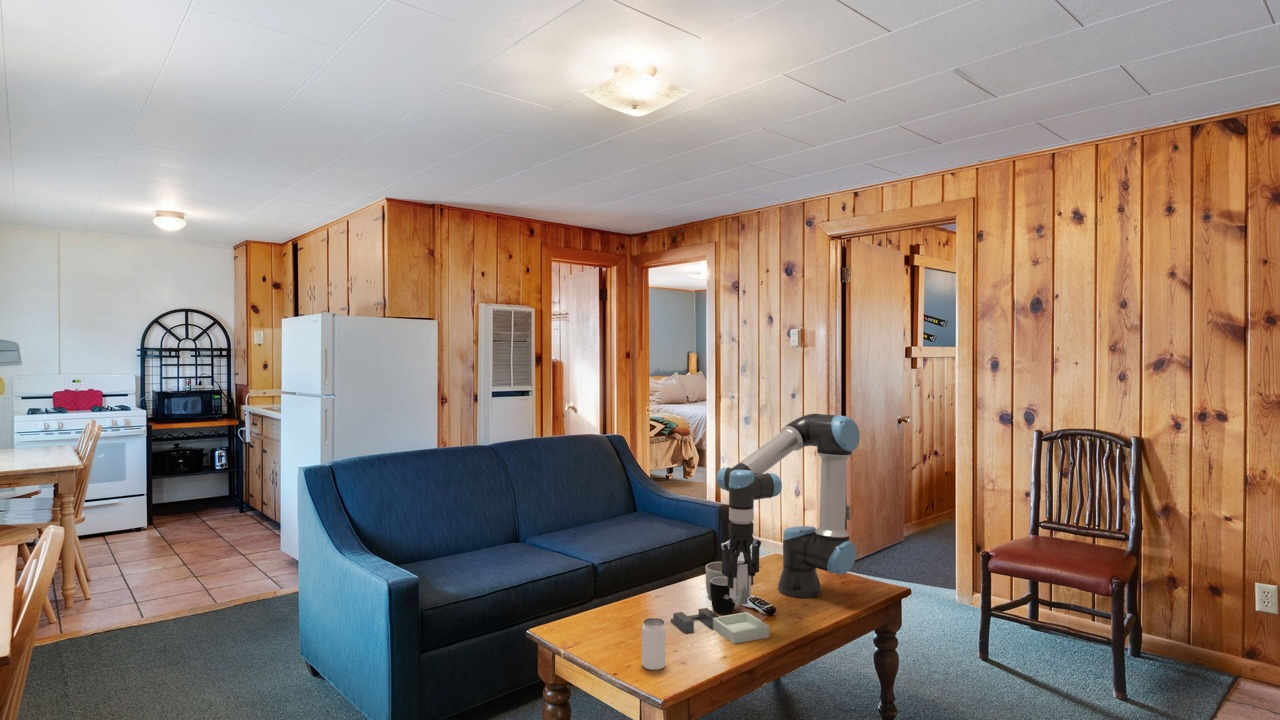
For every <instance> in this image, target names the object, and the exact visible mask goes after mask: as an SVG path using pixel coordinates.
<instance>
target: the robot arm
mask: <svg viewBox="0 0 1280 720" xmlns="http://www.w3.org/2000/svg"><path fill="white" fill-rule="evenodd" d="M860 437H861V436H860V430H859V426H858V424H857V423H856V422H855V420H854V419H853V418H851V417H848V416H845V415H840V414H826V413H825V414H821V413H809V414H805V415H802V416H800V417H798V418H796V419H794V420H791V422H789V423H787V424H786V425H785V426H783V427H782V428H781V430H780V432H779V433H778V434H777V435H776V436H775V437H773V438H772V439H770V440H769V441H768V442H765V444H763V445H762V446H760V447H759V448H757V449H756V450H755V451H754V452H752V453H751V454H750V455H748V456H747V457H745V458H744V459H742V460H741V461H740V462H738V463H737V464H735V465H734V466H732V467H729V466H728V467H722V468H720V469H719V470H718V472H717V474H716V478H715V479H716V484H717V486H718V487H719V488H720V489H721V490H723V491H727V492H728V520H729V522H728V535H729V536H728V538H727V541H725V542H720V544H719V545H720V548H721V562H722V574H723V575H725V576H726V577H728V587H729V588H730V598H732V599H734V600H736V581H737V578H735V577H734V575H735V571H736V566H737V561H739V556H741V553H742V555H743V559H744V560H743V561H745V562H747V563H748V599H749V598H752V586H753V585H754V577H755V576H756V573H759V572H760V547H761V545H762V540H760V539H757V538H754V536H753V534H754V522H753V521H754V513H755V512H754V507H755V505H754V504H755V503H754V502H755V501H757V500H762V499H763V500H764V499H772V498H774V497H777V496H779V495H780V493H781V492H782V491H783V484H782V480H781V478H780V477H779V476H778V475H777V474H776V473H774V472H773V473H769V472H767V471H768V470H769V469H771V468H772V467H774V466H775V465H776V464H777V463H779V462H781V460H782V459H785V457H788V455H789V454H791V453H793V452H794V451H800V450H801V449H802V448H805V447H809V446H810V447H816V449H817V451H816V454H817V455H818V456H819V457H820V458H821V459H820V460H821V464H820V468H821V469H820V495H819V496H820V497H819V498H820V499H819V502H820V503H819V526H818V527H817V528H816V527H814V526H809V525H808V526H807V525H798V526H790V527H788V528H785V530H784V531H783V539H782V561H783V562H782V571H781V574H780V577H779V581H778V583H777V588H778V589H777V590H778V592H779V593H781V594H782V595H784V596H788V597H793V598H799V599H810V598H815V597H818V596H820V595H821V594H822V586H821V583H820V580H819V577H818V573H817V569H818V570H821V571H825V572H828V573H830V574H837V575H844V574H846V573H848V572H849V571H850V570H851V569H852V568H853V566H854V563H855V561H856V558H857V547H856V545H855V544H854V543H853V542H852V541H851V540H850V533H849V532H848V530H846V510H847V509H846V505H847V504H846V503H847V473H848V472H847V471H848V469H847V468H848V459H849V458H850V457H851V456H852V455H853V451H855V450H856V449H857V448H858V444H859V443H860Z"/></svg>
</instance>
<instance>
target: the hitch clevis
mask: <svg viewBox="0 0 1280 720" xmlns="http://www.w3.org/2000/svg"><path fill="white" fill-rule="evenodd" d="M697 611H698V613H697V614H693V615H687V614H685V613H684V612H683V611H680V612H679V611H678V612H673V616H672V617H673V618H670V623H671V624H672V625H674V626H675V627H676V628H677V629H679V630H680V631H681V632H682V633H684V634H689V633H694V631H695V630H694V629H695V627H694V626H695V624H694V623H695V622H696V621H699V622H700V623H702V624H703V625H705V626H706V628H707V627H708V629H710V630H714V629H713V618H717V617H720V615H719V614H717V613H716V612H714V611H712V610H710V609H709V608H707V607H705V608H704V607H703V608H698V610H697Z"/></svg>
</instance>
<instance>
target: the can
mask: <svg viewBox="0 0 1280 720" xmlns="http://www.w3.org/2000/svg"><path fill="white" fill-rule="evenodd" d="M666 630H667V629H666V625H665V620H663V619H661V618H657V617H649V618H646V619H644V620H643V625H642V628H641V666H642V667H643V668H644V669H646V670H649V671H659V670H663V668H665V666H666V655H667V653H666V651H667V650H666V647H667V646H666V645H667V644H666V643H667V642H666V637H667V636H666V632H667V631H666Z"/></svg>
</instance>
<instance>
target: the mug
mask: <svg viewBox="0 0 1280 720" xmlns="http://www.w3.org/2000/svg"><path fill="white" fill-rule="evenodd" d="M710 593H711V598H710V601H711V606H712V610H713V612H714V613H715V614H717V615H732V613H734V610H735V607H736V604H735V603H733V599H732V598H730V588H729V587H728V577H714V578H712V579H711V580H710Z"/></svg>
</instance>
